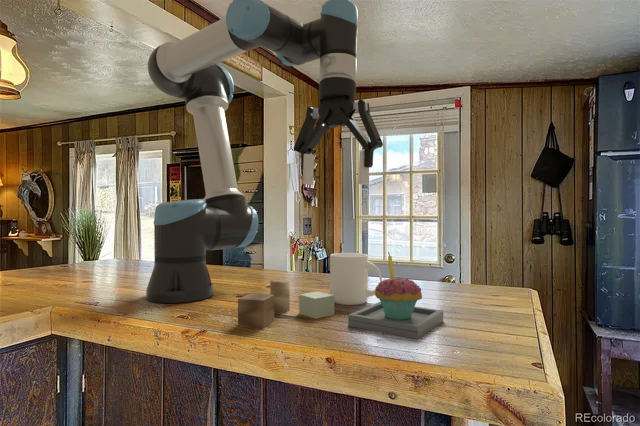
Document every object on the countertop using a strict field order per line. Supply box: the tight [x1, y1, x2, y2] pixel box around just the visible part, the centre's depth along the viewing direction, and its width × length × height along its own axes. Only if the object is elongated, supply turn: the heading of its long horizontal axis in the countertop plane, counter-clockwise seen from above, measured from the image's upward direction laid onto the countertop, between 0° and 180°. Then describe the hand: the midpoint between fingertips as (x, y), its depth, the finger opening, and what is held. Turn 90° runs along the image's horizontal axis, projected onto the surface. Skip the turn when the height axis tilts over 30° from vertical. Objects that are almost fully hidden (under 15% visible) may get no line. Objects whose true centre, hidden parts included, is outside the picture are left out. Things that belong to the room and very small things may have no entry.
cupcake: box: [374, 251, 423, 320], centre depth 74 cm, size 9×8×12 cm
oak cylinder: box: [269, 279, 291, 314], centre depth 83 cm, size 4×4×6 cm
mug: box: [329, 252, 383, 306], centre depth 91 cm, size 9×12×11 cm
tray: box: [347, 301, 444, 340], centre depth 73 cm, size 13×13×2 cm
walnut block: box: [237, 292, 275, 329], centre depth 73 cm, size 5×5×5 cm
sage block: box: [298, 290, 335, 319], centre depth 80 cm, size 5×5×4 cm
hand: (334, 184), depth 82 cm, fingers open, 13 cm apart
